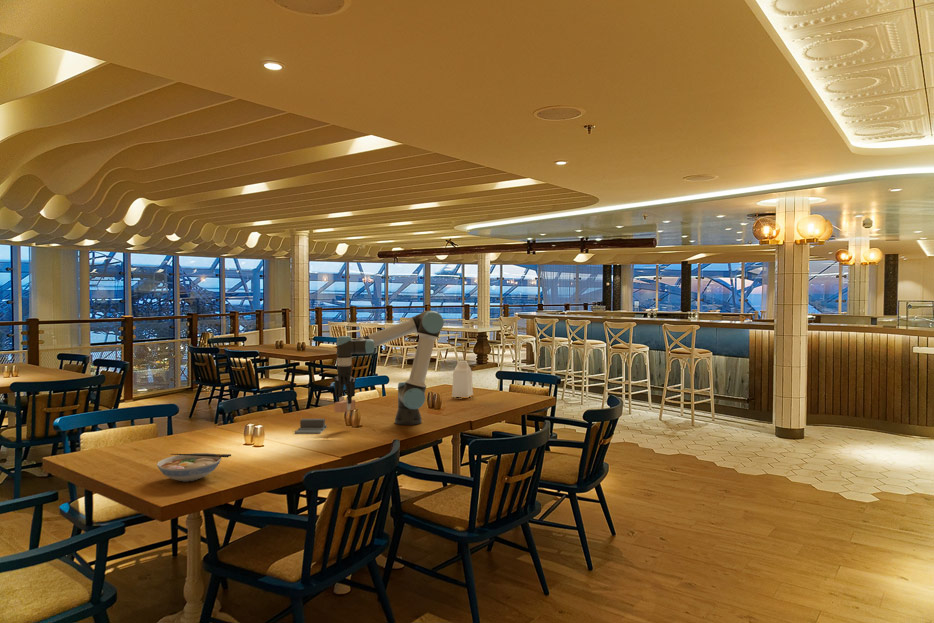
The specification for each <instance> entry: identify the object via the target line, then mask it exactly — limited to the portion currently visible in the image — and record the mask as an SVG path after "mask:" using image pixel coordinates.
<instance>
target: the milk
mask: <svg viewBox="0 0 934 623" xmlns="http://www.w3.org/2000/svg"><path fill="white" fill-rule="evenodd" d="M452 374H453V375H452V391H451V392H452V393H451V394H452V395H451V398H452V397H469V396H471V395H473V396H474V390H473V371H472V368H471V366H470V364H468V361H467V360H458V361H457V364H456V366H455V368H454V370H453V373H452Z"/></svg>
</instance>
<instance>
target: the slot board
mask: <svg viewBox="0 0 934 623" xmlns="http://www.w3.org/2000/svg"><path fill="white" fill-rule="evenodd" d="M327 428H328V426H327V424H325V428H300V427H298V429H297V430H295V431H294V435H296V434H297V435H300V434H301V435H311V434H312V435H317V434H318V435H320V434H322V432H324V430H326V429H327Z"/></svg>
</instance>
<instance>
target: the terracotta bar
mask: <svg viewBox="0 0 934 623" xmlns="http://www.w3.org/2000/svg"><path fill="white" fill-rule="evenodd" d="M333 404H334V406H333V407H334V409H333V410H334V413H339V414H342V413H345V412H348V411H353V410H356V399H352V403H351V410H346V399H344V401H339V402H338V401H335V402H333Z"/></svg>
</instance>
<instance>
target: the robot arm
mask: <svg viewBox="0 0 934 623" xmlns="http://www.w3.org/2000/svg"><path fill="white" fill-rule="evenodd" d="M444 323H445V322H444V318H443V317H442V315H441V314H440V313H439V312H437V311H434V310H424V311H423V312H421V313H418V314H417V315H414V316H412V317H410V318H409V319H408V320H406V321H404V322H401V323H397V324H395V325H392V326H390V327H386V328H384V329H381V330H378V331H375V332H372V333H370V334H367V335H365V336H364V335H363V336H361V337H357V338H356V339H353V338H352V337H351V336H349V335H342V336H341V335H340V336H338V337H337V338H336V363H337V364H336V365H337V367H336V370H337V371H336V372H337V376H334V377H333V380H334V396H337V398H338V399H337V400H338V401H337V402H339V401H344V400H346V410H350V411H352V410H351V403H352V400H353V399H352V398H353V397H355V396H356V395H355V394H356V391H355V390H356V380H357V379H356V377H353V376H352V368H353V366H352V365H353V363H352V359H353V358H352V355H355V354H357V355H359V354H360V355H361V354H368V355H369V354H374V352H375V347H379V346H381V345H384V344H386V343H390V342H392V341H394V340H397V339H400V338H403V337H406V336H408V335H411V334H414V333H415V334H418V336H419V338H418V342H417V346H416V351H415V353H414V358H413V362H412V367H411V371H410V374H409V379H408V380H407V379H406V380H405V381H402V382H398V385H397V392H398V393H397V411H396V414H395V417H394V423H395V424H397V425H403V426H413V425H420V424H422V422H423V421H422V415H421V412H420V408H421V407H423V405H424V404H425V403H426V402H425V401H426V390H427V385H426V383H425V381H426V377H427V373H428V370H429V365H430V362H431V358H432V354H433V350H434V349H433V348H434V345H435V342H436V340H437V339H438V338H439V336H440V332H441V331H442V329H443V327H444ZM344 387H345V388H344ZM344 389H345V392H346V398H345V397H344Z"/></svg>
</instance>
